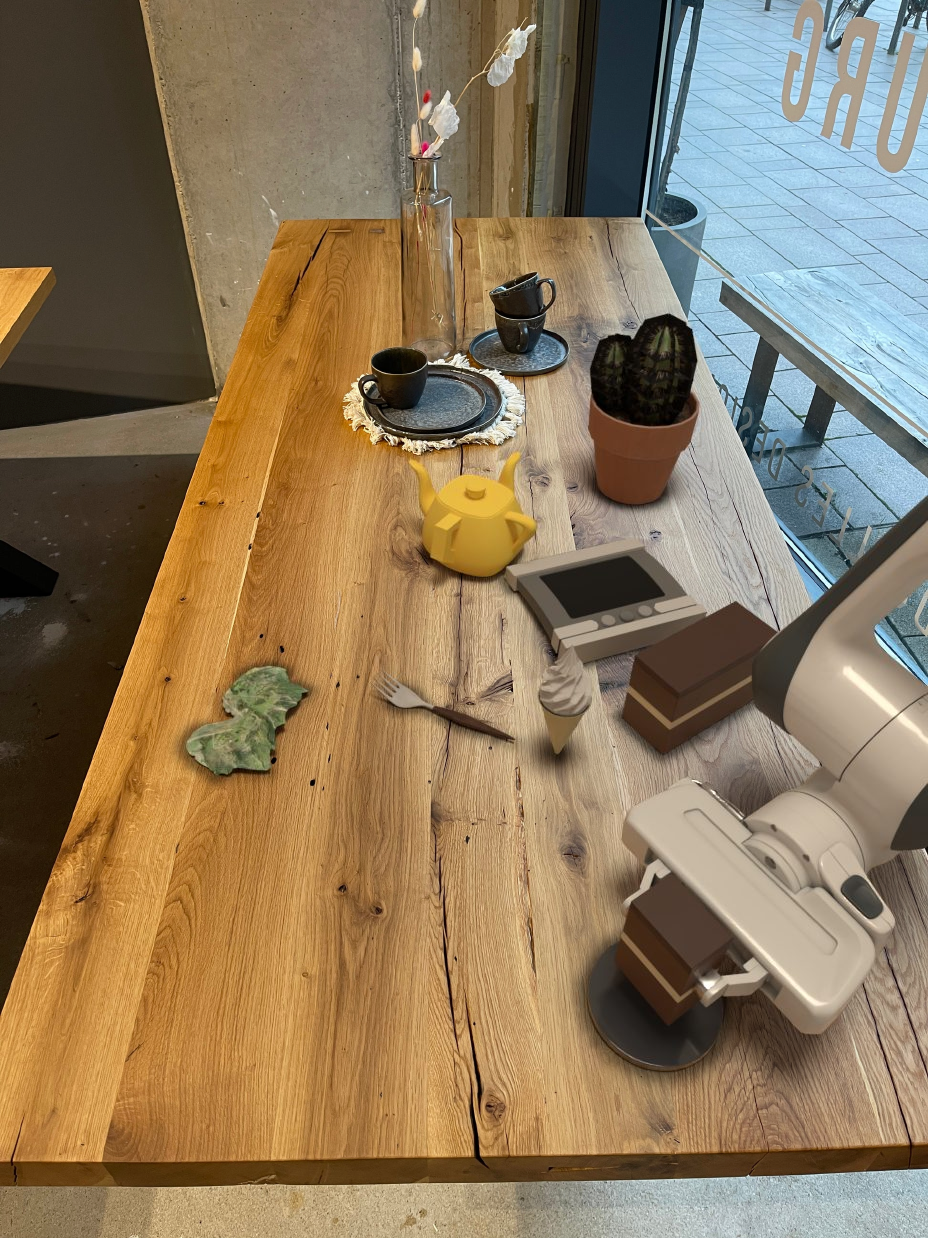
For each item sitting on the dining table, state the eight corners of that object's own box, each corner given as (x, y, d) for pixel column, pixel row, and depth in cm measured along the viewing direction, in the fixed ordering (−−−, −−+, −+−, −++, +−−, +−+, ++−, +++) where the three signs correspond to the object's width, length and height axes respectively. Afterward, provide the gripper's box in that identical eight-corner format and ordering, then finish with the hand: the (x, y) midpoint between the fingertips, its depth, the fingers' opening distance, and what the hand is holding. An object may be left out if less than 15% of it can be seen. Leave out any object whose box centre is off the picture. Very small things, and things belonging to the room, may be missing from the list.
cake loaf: (717, 662, 99) (735, 600, 93) (759, 696, 96) (781, 634, 90) (621, 716, 93) (634, 654, 87) (662, 755, 90) (679, 693, 84)
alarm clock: (565, 648, 96) (506, 547, 106) (560, 676, 99) (503, 575, 109) (707, 611, 100) (637, 518, 110) (697, 639, 104) (630, 546, 114)
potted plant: (656, 452, 130) (689, 279, 113) (698, 508, 120) (741, 327, 103) (565, 465, 127) (585, 289, 110) (601, 522, 117) (629, 339, 100)
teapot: (515, 513, 118) (519, 447, 112) (539, 579, 109) (546, 511, 102) (409, 522, 117) (408, 456, 110) (424, 591, 107) (424, 522, 100)
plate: (702, 937, 76) (704, 933, 75) (736, 1068, 68) (739, 1064, 68) (578, 942, 75) (579, 938, 75) (598, 1075, 68) (599, 1070, 67)
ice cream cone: (527, 767, 88) (538, 658, 78) (536, 728, 92) (549, 619, 82) (578, 777, 88) (597, 669, 77) (586, 738, 91) (605, 629, 81)
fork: (509, 752, 90) (510, 739, 88) (369, 695, 95) (368, 682, 93) (520, 734, 91) (521, 721, 90) (382, 679, 96) (381, 666, 95)
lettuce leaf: (264, 786, 86) (262, 776, 85) (172, 766, 87) (169, 756, 86) (320, 674, 97) (318, 664, 96) (237, 658, 98) (234, 647, 97)
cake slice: (651, 934, 72) (671, 872, 66) (706, 996, 68) (733, 937, 62) (613, 961, 70) (630, 901, 64) (667, 1026, 67) (692, 969, 61)
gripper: (702, 747, 75) (574, 826, 70) (916, 939, 63) (783, 1056, 58) (688, 792, 80) (566, 871, 74) (885, 981, 68) (758, 1093, 62)
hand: (662, 954), depth 66 cm, fingers closed on cake slice, 6 cm apart
